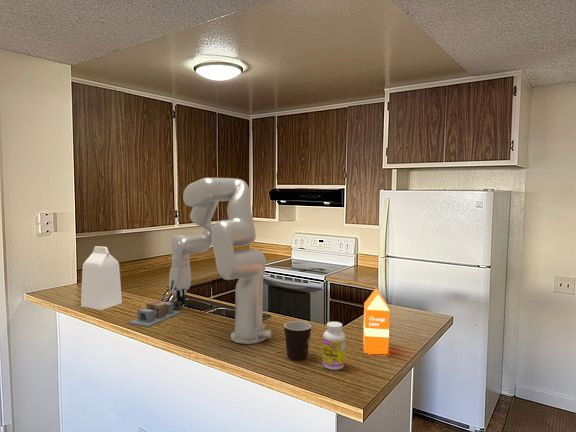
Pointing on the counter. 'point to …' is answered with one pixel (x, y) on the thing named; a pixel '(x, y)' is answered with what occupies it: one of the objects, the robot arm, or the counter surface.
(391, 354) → the counter surface
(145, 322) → the bearing block
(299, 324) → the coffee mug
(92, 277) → the milk
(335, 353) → the supplement bottle
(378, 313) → the orange juice
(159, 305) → the block
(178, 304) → the shaft
